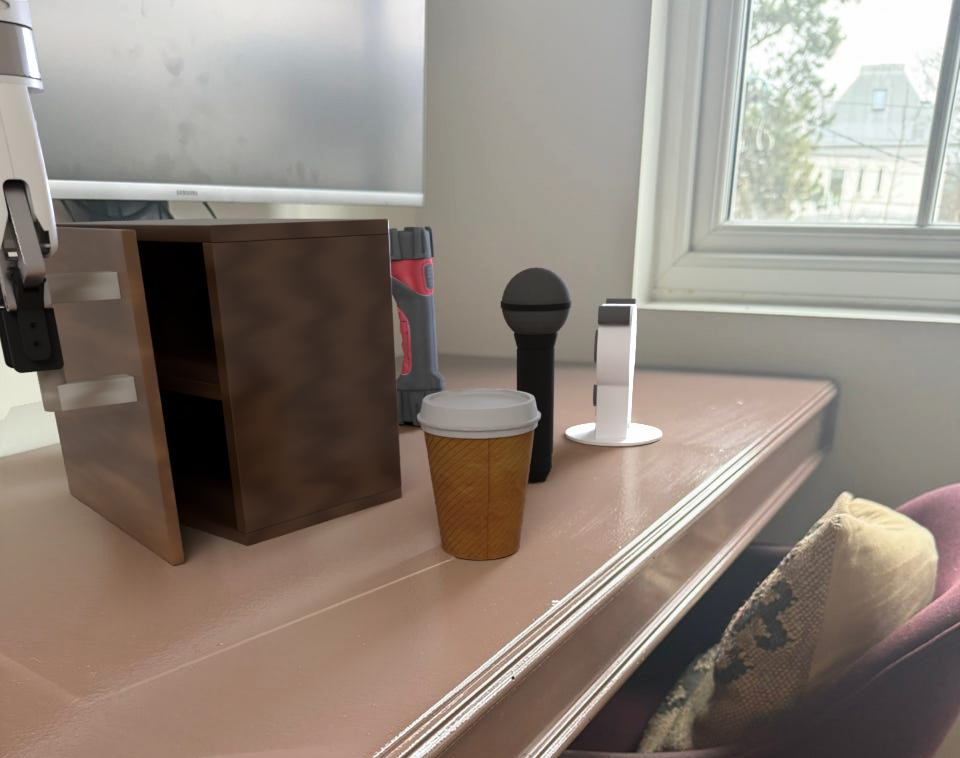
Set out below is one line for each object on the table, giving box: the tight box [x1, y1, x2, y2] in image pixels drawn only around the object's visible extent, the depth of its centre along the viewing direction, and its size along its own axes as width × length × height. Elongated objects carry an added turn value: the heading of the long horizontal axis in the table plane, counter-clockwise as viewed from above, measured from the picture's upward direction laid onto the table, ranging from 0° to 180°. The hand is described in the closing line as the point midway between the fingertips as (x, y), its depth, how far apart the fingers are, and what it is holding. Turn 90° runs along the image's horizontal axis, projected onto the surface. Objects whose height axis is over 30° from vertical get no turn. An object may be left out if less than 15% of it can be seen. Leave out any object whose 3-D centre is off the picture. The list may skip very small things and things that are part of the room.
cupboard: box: [56, 218, 403, 547], centre depth 89 cm, size 18×26×24 cm
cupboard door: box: [36, 227, 186, 566], centre depth 78 cm, size 7×26×24 cm, turn 38°
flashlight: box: [389, 226, 446, 427], centre depth 119 cm, size 8×8×23 cm
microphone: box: [500, 267, 572, 484], centre depth 93 cm, size 7×7×20 cm
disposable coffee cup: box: [417, 387, 541, 561], centre depth 76 cm, size 10×10×12 cm
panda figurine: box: [565, 297, 663, 447], centre depth 112 cm, size 12×11×15 cm
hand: (34, 366), depth 68 cm, fingers closed on cupboard door, 2 cm apart
